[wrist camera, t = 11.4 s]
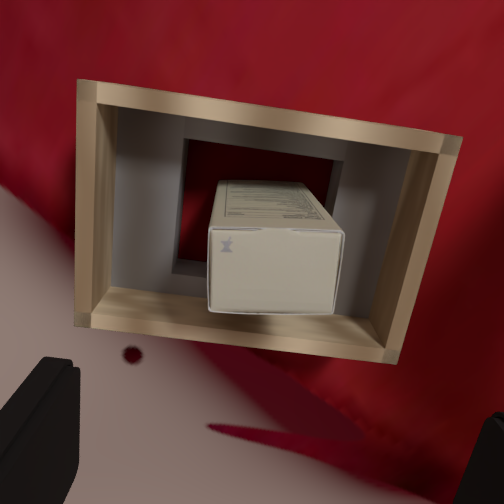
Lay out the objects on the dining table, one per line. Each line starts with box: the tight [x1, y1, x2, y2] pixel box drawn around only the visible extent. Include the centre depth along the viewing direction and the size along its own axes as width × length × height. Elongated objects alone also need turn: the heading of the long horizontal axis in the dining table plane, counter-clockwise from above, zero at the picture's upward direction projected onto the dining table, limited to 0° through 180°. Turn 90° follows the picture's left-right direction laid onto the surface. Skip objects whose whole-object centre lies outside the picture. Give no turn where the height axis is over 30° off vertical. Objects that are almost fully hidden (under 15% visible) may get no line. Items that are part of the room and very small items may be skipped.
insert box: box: [74, 79, 463, 365], centre depth 28 cm, size 20×14×7 cm
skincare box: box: [207, 180, 345, 315], centre depth 26 cm, size 6×4×12 cm
